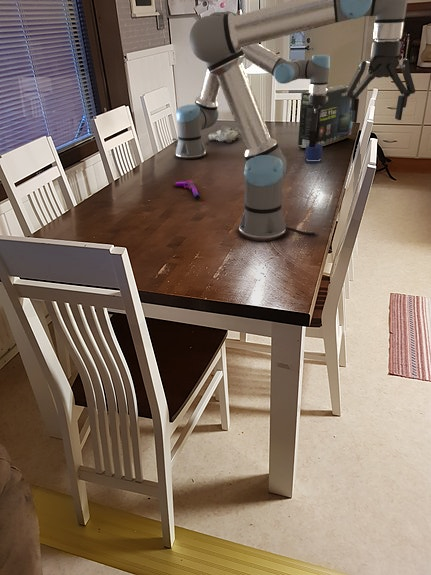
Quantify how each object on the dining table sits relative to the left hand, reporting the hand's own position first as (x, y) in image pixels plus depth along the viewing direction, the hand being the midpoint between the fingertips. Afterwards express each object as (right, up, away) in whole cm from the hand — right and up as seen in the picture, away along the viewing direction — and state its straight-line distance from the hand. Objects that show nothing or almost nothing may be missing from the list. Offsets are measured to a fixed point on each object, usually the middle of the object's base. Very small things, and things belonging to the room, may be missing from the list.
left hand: (313, 143), depth 213 cm
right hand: (+3, -17, -75) cm, 77 cm away
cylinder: (+1, -7, +4) cm, 8 cm away
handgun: (-57, -28, -26) cm, 68 cm away
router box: (+13, +10, +32) cm, 36 cm away
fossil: (-41, +17, +47) cm, 64 cm away
